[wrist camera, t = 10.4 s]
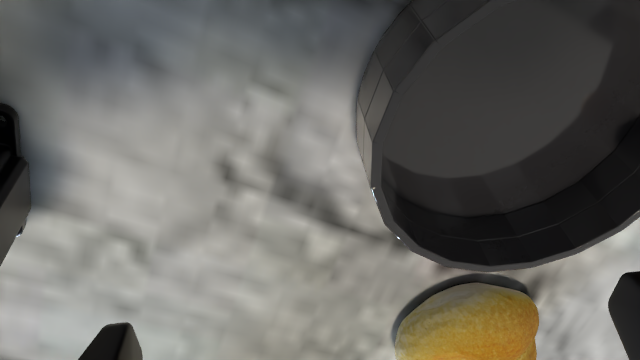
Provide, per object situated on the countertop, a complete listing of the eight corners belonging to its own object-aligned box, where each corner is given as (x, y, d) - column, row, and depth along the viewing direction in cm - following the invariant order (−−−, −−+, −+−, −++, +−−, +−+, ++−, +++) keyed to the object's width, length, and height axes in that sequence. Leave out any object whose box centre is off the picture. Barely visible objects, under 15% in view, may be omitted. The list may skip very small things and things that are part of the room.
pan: (318, 197, 23) (327, 251, 20) (430, -110, 16) (467, -90, 13) (552, 234, 26) (588, 285, 24) (734, -9, 19) (815, 25, 16)
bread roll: (530, 260, 28) (566, 321, 24) (523, 352, 33) (551, 411, 30) (381, 293, 28) (398, 358, 25) (399, 378, 33) (414, 439, 30)
